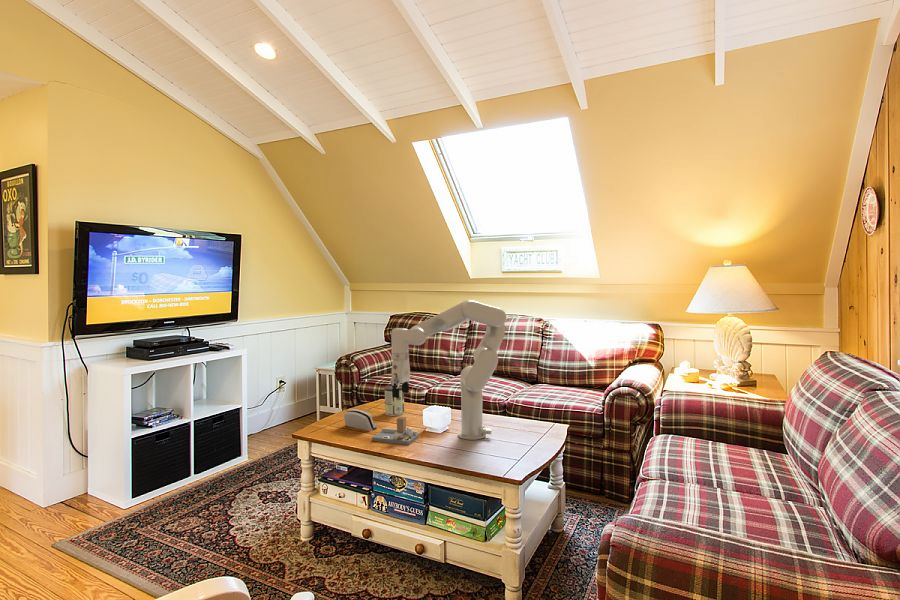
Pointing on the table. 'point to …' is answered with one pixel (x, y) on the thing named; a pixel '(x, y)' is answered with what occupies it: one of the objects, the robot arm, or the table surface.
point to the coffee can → (394, 402)
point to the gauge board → (389, 437)
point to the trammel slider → (401, 428)
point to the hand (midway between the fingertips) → (400, 394)
